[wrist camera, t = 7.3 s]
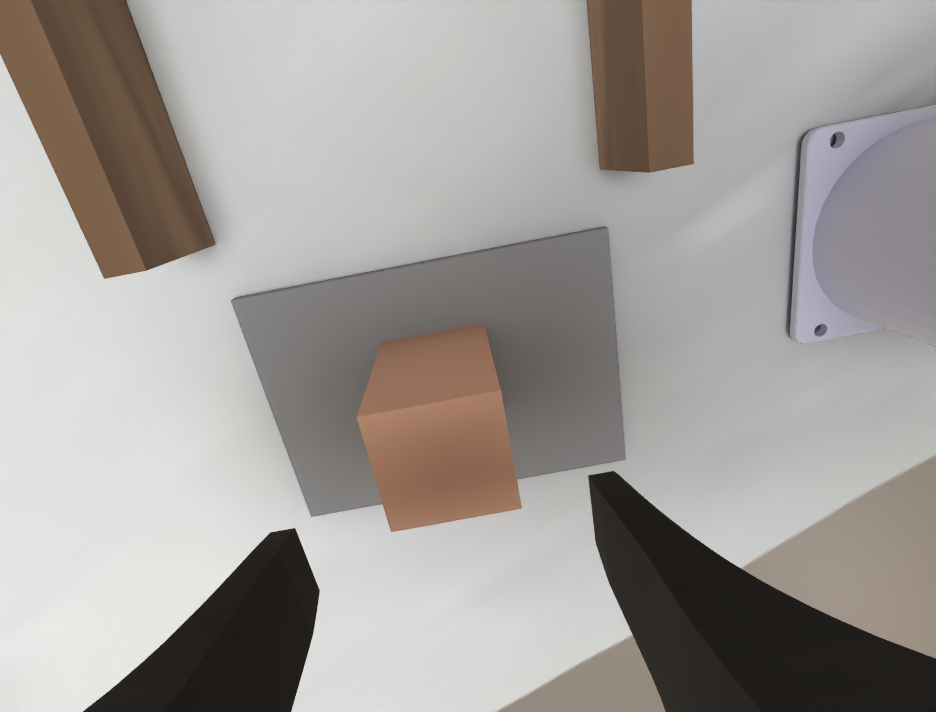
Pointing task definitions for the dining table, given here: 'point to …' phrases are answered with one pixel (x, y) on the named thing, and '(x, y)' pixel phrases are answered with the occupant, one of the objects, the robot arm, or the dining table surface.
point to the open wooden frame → (159, 156)
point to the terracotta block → (438, 429)
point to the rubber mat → (437, 309)
